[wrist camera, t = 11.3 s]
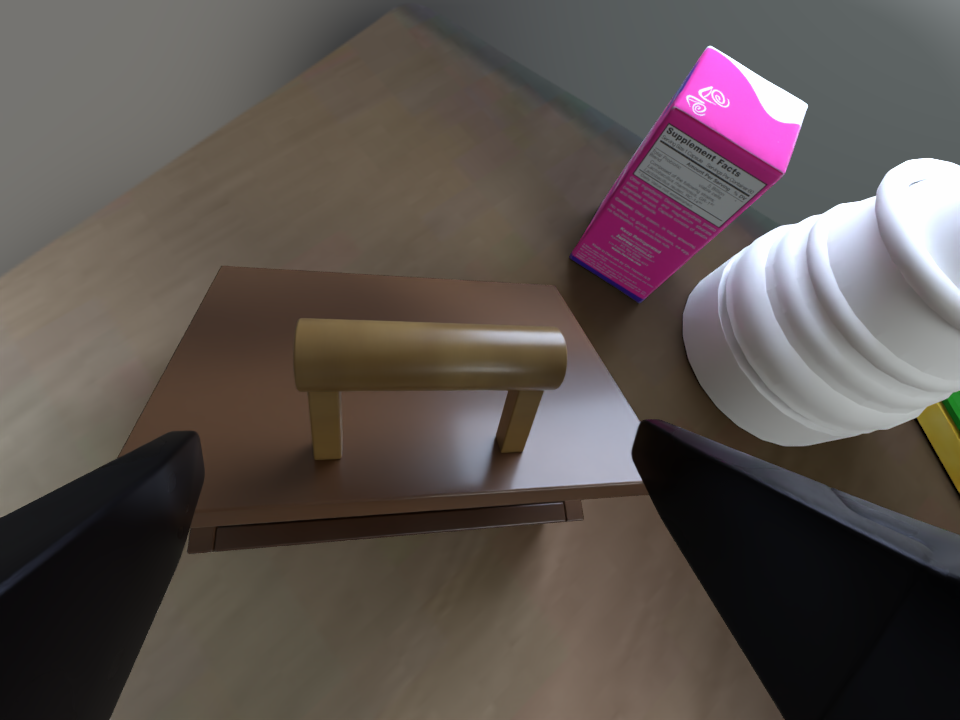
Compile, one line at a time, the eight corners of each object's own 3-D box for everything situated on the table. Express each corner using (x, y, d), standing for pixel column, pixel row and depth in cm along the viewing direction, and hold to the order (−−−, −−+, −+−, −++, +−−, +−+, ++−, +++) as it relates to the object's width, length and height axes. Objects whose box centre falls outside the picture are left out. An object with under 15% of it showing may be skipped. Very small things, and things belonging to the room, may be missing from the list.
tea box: (546, 523, 22) (584, 520, 18) (223, 550, 19) (185, 554, 15) (522, 331, 26) (550, 295, 22) (249, 322, 22) (225, 277, 18)
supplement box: (596, 203, 31) (712, 38, 21) (667, 249, 31) (817, 107, 21) (563, 257, 29) (675, 100, 18) (639, 307, 29) (794, 178, 18)
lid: (668, 494, 13) (752, 376, 10) (93, 536, 10) (-17, 373, 7) (551, 297, 22) (580, 203, 19) (224, 280, 18) (199, 161, 15)
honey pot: (718, 238, 33) (1066, -51, 17) (861, 342, 33) (1358, 149, 16) (652, 363, 27) (1076, 111, 11) (823, 489, 27) (1517, 419, 11)
